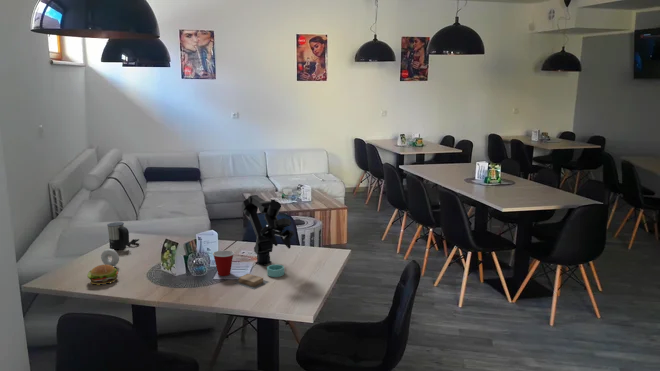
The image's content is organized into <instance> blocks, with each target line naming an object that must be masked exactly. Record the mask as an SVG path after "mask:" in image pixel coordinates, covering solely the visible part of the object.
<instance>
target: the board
mask: <svg viewBox="0 0 660 371" xmlns="http://www.w3.org/2000/svg"><path fill="white" fill-rule="evenodd" d="M238 280H239V283H243V284H246V285H249V286H253V287H255V286H257V285H259V284H261V283H263V280H264V277H262V276H258V275H254V274H251V273H246V274H244V275H242V276H239V277H238Z"/></svg>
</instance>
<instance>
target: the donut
mask: <svg viewBox="0 0 660 371" xmlns="http://www.w3.org/2000/svg"><path fill="white" fill-rule="evenodd" d="M109 256H110V257H111V260H110V259H109ZM100 258H101V261H102V264H103V265H111V266H114V267H116V266H117V265H118V264H119V261H120V255H119V253H118V252H117V250H113V249H109V248H106V249H104V250H103V251H102V252H101V255H100Z"/></svg>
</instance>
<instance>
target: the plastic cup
mask: <svg viewBox="0 0 660 371" xmlns="http://www.w3.org/2000/svg"><path fill="white" fill-rule="evenodd" d="M212 255H213V258H214V262H215V266H216V271H217V275H218V276H220V277H227V276H230V274H231V271H232V270H231V269H232V263H233V257H234V255H235V252H234V251H233V250H217V251H213V253H212Z"/></svg>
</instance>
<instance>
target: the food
mask: <svg viewBox="0 0 660 371" xmlns="http://www.w3.org/2000/svg"><path fill="white" fill-rule="evenodd" d="M118 274H119V271H118V269H117V268H115V266H114V267H113V266H111V265H105V264H101V265H97V266H94V267H93V268H92V269H91V270H89V272H88V273H87V279H89V281H90V283H91V285H93V284H97V285H96V286H101V285H100V284H106V283H110V282H113V281H114V282H115V280H116V281H117V278H118ZM114 282H113V283H114ZM110 284H111V283H110ZM106 285H107V284H106Z"/></svg>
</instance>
